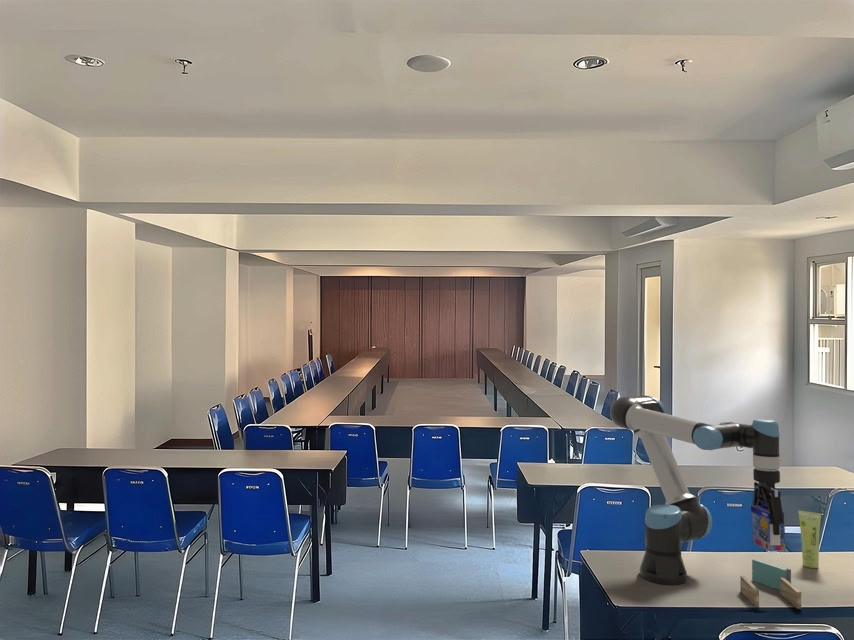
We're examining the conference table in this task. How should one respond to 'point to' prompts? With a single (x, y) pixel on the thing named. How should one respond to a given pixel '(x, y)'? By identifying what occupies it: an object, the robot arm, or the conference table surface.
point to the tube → (810, 537)
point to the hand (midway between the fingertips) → (767, 539)
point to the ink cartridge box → (765, 528)
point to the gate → (769, 574)
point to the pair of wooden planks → (785, 590)
